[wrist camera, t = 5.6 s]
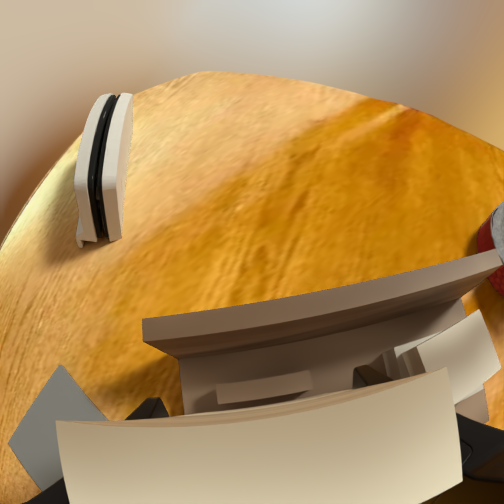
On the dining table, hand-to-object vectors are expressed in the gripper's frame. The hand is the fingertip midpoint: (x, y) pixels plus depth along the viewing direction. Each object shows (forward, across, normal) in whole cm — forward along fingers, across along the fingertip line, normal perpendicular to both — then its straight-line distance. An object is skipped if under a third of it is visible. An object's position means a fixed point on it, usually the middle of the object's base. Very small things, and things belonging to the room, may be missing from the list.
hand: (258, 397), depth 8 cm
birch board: (+3, 0, +5) cm, 6 cm away
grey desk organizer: (+7, -5, +9) cm, 13 cm away
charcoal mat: (+5, +17, +12) cm, 21 cm away
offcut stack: (+6, -11, +8) cm, 15 cm away
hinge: (+25, +12, -8) cm, 29 cm away
